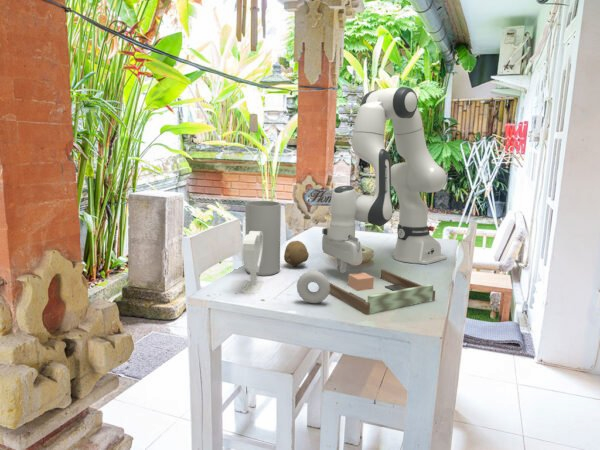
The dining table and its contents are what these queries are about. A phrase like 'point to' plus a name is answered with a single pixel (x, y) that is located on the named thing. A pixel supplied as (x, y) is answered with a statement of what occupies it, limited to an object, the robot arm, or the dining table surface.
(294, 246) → the natural sponge
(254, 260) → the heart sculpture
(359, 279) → the terracotta block
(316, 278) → the donut
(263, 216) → the cylinder vase
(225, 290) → the dining table surface
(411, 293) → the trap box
